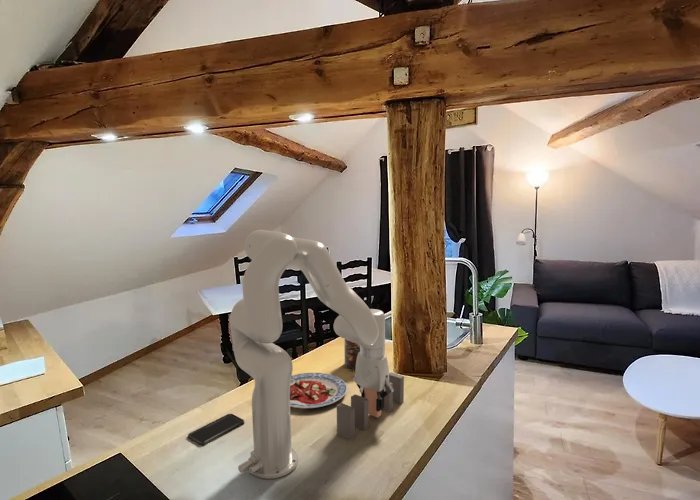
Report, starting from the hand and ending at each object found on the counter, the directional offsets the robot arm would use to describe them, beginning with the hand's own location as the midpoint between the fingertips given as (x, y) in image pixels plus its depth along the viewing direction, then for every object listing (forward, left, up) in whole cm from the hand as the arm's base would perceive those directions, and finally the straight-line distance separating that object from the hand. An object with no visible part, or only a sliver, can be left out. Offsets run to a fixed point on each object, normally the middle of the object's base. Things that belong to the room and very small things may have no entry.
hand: (372, 406), depth 132 cm
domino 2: (-7, 0, -4) cm, 8 cm away
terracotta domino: (0, 0, -3) cm, 3 cm away
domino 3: (+6, 0, -4) cm, 7 cm away
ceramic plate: (-1, +26, -4) cm, 26 cm away
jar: (+28, +27, -4) cm, 39 cm away
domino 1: (-13, 0, -4) cm, 14 cm away
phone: (-34, +32, -4) cm, 47 cm away
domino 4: (+13, 0, -4) cm, 13 cm away
